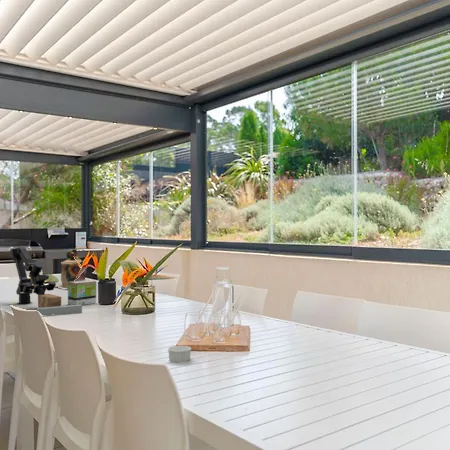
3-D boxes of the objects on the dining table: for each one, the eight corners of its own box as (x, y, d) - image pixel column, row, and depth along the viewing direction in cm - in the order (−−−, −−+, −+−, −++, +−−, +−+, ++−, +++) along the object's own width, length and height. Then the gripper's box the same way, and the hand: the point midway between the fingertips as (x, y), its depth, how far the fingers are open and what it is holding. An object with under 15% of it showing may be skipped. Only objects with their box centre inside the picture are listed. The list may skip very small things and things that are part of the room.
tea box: (76, 306, 301) (76, 282, 301) (67, 304, 307) (67, 281, 307) (96, 303, 313) (96, 280, 313) (87, 301, 319) (86, 279, 319)
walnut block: (38, 310, 288) (38, 295, 288) (49, 308, 293) (49, 293, 293) (49, 313, 277) (49, 298, 277) (61, 312, 282) (61, 296, 282)
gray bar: (38, 317, 268) (38, 309, 268) (37, 316, 271) (37, 308, 271) (81, 313, 279) (81, 305, 279) (80, 312, 283) (80, 304, 283)
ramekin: (163, 360, 183) (163, 348, 183) (179, 355, 190) (179, 344, 190) (180, 364, 177) (180, 352, 177) (196, 359, 184) (196, 347, 184)
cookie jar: (52, 287, 392) (52, 248, 392) (80, 284, 409) (80, 247, 409) (65, 290, 374) (65, 249, 374) (94, 287, 391) (94, 248, 391)
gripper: (24, 270, 288) (32, 290, 280) (54, 268, 301) (62, 287, 293) (19, 282, 294) (26, 302, 286) (49, 280, 307) (56, 299, 299)
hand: (43, 297), depth 291 cm, fingers closed, pressing on walnut block
